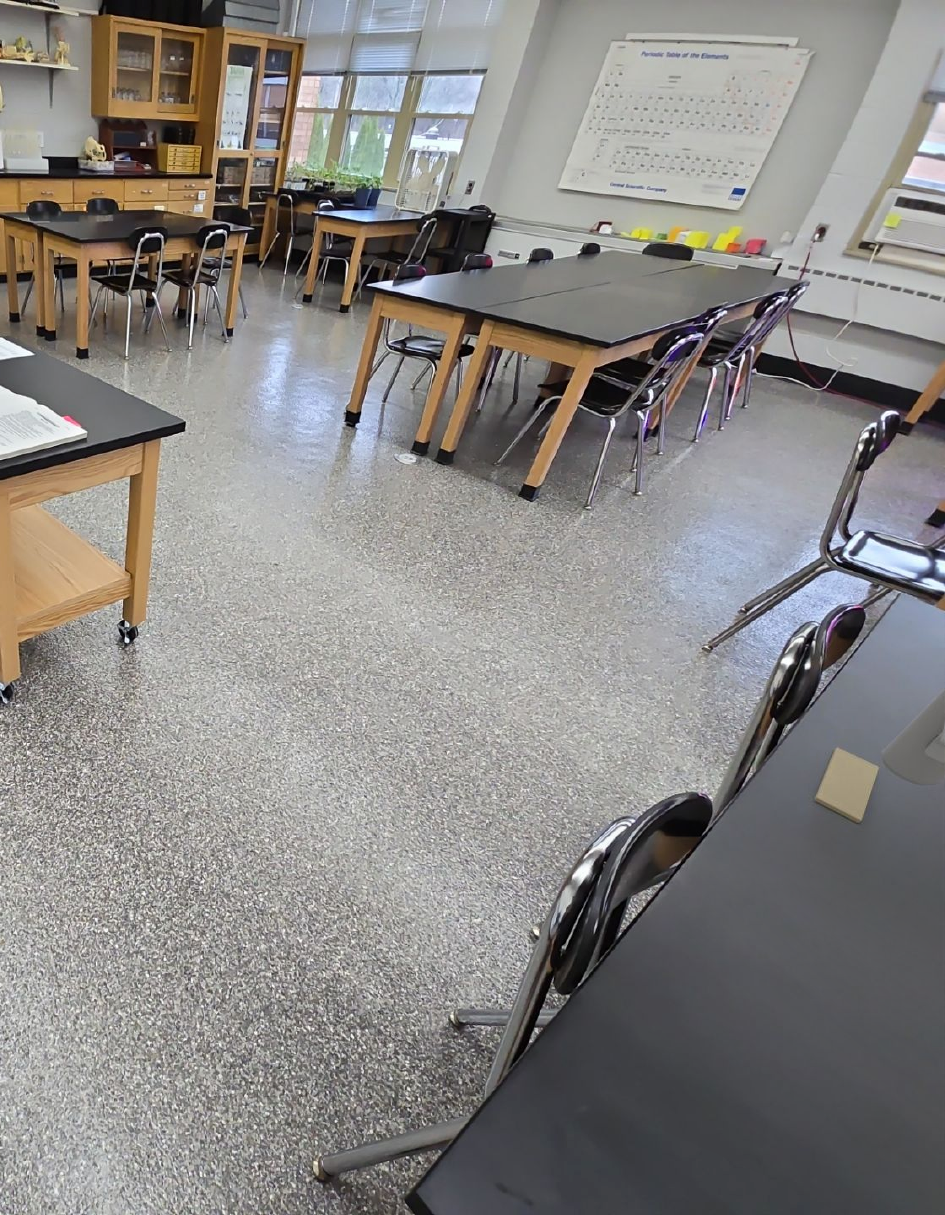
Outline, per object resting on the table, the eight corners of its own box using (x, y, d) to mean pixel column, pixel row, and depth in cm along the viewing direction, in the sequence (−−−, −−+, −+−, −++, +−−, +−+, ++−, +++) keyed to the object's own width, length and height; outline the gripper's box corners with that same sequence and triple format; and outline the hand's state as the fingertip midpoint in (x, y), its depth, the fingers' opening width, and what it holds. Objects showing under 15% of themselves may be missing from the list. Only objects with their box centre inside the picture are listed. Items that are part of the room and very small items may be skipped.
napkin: (834, 750, 97) (837, 747, 96) (876, 770, 94) (879, 767, 94) (813, 800, 89) (816, 797, 89) (858, 823, 87) (861, 820, 86)
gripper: (1100, 706, 56) (970, 816, 65) (1099, 607, 68) (988, 711, 76) (991, 665, 60) (881, 774, 68) (1007, 578, 71) (911, 680, 80)
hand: (938, 740), depth 72 cm, fingers closed on beverage can, 5 cm apart
